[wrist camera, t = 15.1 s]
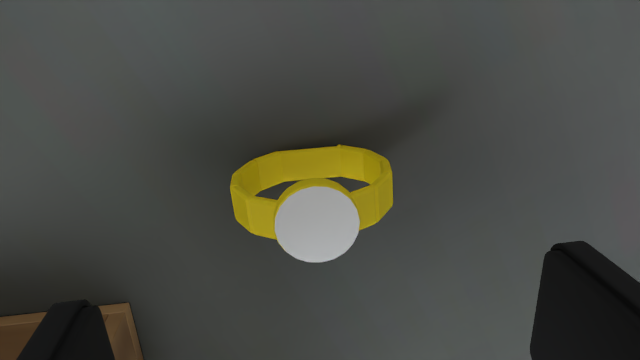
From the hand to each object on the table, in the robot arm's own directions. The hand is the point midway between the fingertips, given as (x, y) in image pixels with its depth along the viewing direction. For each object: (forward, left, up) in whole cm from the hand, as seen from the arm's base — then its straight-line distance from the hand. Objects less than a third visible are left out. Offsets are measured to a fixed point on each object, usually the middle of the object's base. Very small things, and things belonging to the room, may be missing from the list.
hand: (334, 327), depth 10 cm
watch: (0, 0, -11) cm, 11 cm away
